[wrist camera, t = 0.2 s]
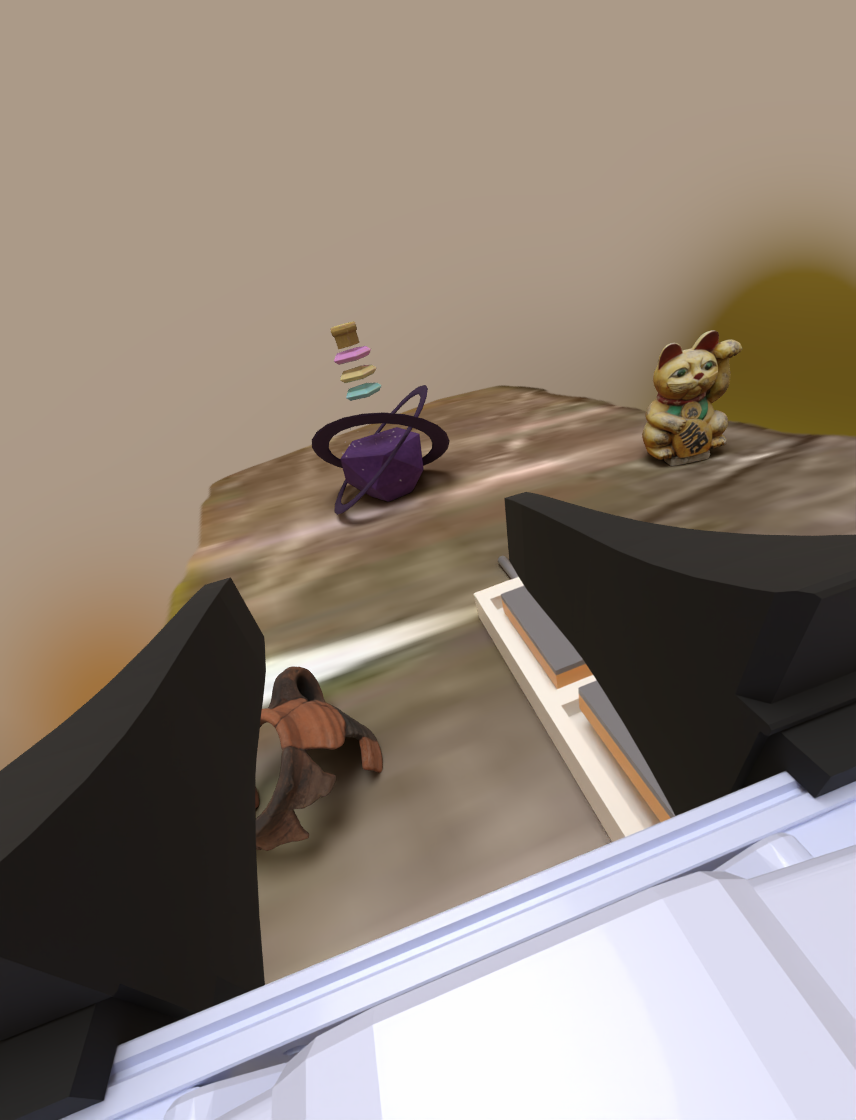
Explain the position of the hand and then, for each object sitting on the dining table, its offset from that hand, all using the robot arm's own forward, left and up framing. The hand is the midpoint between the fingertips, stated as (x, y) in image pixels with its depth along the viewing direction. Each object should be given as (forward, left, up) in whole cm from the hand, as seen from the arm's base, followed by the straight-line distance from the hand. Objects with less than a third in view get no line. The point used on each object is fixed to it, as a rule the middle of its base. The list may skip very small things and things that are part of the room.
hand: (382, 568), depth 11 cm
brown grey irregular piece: (+11, +10, -22) cm, 26 cm away
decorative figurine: (+36, -42, -21) cm, 59 cm away
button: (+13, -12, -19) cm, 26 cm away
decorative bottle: (+55, -5, -22) cm, 59 cm away
